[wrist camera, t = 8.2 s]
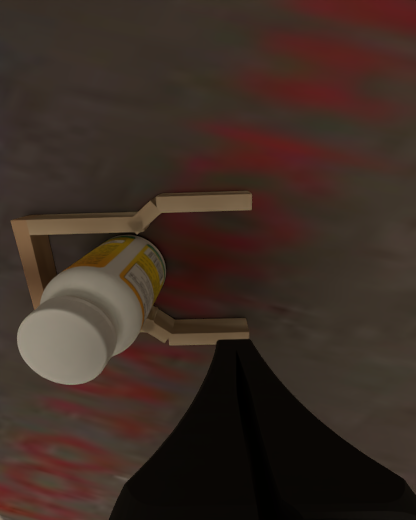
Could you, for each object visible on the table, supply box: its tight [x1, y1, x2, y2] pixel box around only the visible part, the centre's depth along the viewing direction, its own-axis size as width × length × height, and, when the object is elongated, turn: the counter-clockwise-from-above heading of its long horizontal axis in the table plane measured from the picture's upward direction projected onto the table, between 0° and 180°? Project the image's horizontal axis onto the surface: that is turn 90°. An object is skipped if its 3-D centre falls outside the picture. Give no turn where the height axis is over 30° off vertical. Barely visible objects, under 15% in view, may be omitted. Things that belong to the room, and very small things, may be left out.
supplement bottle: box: [17, 235, 166, 385], centre depth 17 cm, size 5×5×10 cm
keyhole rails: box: [11, 191, 252, 345], centre depth 20 cm, size 11×16×2 cm
